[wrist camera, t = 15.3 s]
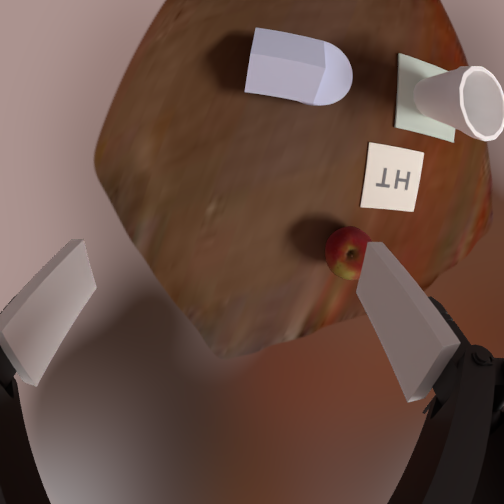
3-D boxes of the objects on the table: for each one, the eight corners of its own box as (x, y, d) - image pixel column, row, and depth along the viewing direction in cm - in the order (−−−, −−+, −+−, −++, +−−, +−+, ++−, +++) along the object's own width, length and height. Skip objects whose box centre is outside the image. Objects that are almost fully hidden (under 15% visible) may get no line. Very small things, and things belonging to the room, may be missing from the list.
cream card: (368, 142, 37) (369, 142, 36) (423, 152, 37) (424, 152, 37) (360, 206, 41) (360, 207, 41) (412, 211, 42) (413, 211, 41)
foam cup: (402, 65, 30) (456, 57, 19) (448, 75, 30) (503, 75, 18) (406, 125, 35) (460, 137, 23) (450, 130, 34) (505, 145, 23)
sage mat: (398, 53, 30) (399, 53, 29) (456, 75, 30) (458, 75, 30) (394, 127, 35) (395, 127, 35) (452, 142, 36) (453, 142, 35)
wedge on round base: (244, 93, 34) (338, 112, 35) (244, 89, 28) (355, 113, 29) (255, 34, 30) (348, 55, 31) (256, 19, 24) (366, 46, 25)
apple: (367, 217, 42) (388, 240, 35) (360, 263, 46) (377, 290, 39) (321, 217, 42) (336, 240, 35) (316, 264, 46) (328, 293, 39)
